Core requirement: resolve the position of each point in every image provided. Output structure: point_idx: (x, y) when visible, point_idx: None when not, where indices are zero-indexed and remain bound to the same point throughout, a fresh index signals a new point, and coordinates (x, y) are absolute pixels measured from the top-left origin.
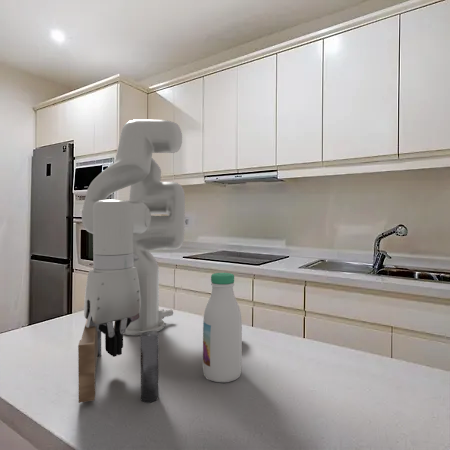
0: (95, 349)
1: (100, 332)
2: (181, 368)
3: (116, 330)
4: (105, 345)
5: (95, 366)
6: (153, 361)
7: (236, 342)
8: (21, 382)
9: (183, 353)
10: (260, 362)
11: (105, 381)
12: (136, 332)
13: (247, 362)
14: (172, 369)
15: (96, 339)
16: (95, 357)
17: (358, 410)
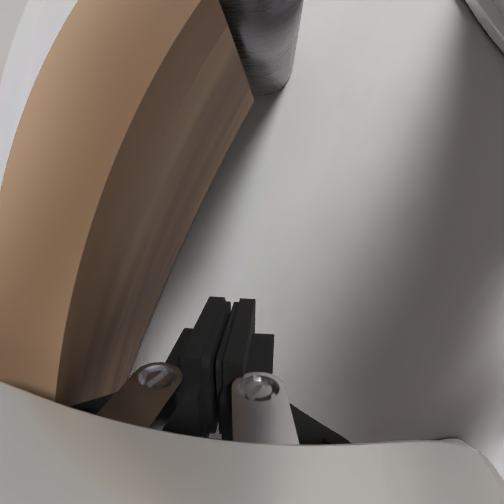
0: (133, 309)
1: (280, 47)
2: (409, 408)
3: (224, 431)
4: (179, 337)
5: (161, 282)
6: None
7: None
8: (12, 137)
9: (494, 329)
10: (494, 455)
11: (189, 326)
12: (499, 36)
13: (489, 448)
14: (392, 400)
15: (166, 213)
16: (148, 295)
17: None
